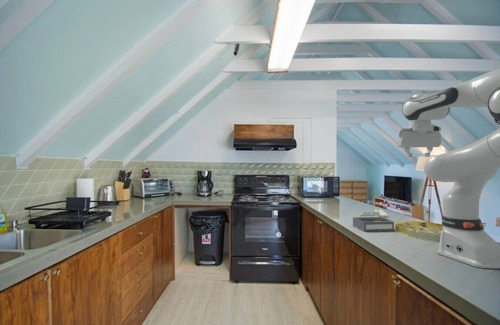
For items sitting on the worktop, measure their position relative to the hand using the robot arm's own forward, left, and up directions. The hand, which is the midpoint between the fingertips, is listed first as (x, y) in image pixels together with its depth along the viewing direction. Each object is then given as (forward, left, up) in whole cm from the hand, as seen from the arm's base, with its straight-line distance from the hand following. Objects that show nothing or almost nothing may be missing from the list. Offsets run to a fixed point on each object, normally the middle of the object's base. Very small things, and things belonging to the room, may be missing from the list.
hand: (418, 156), depth 127 cm
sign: (+6, -9, -39) cm, 41 cm away
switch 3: (+19, +8, -31) cm, 37 cm away
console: (+19, +13, -39) cm, 45 cm away
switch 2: (+19, +13, -31) cm, 39 cm away
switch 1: (+19, +18, -31) cm, 41 cm away
